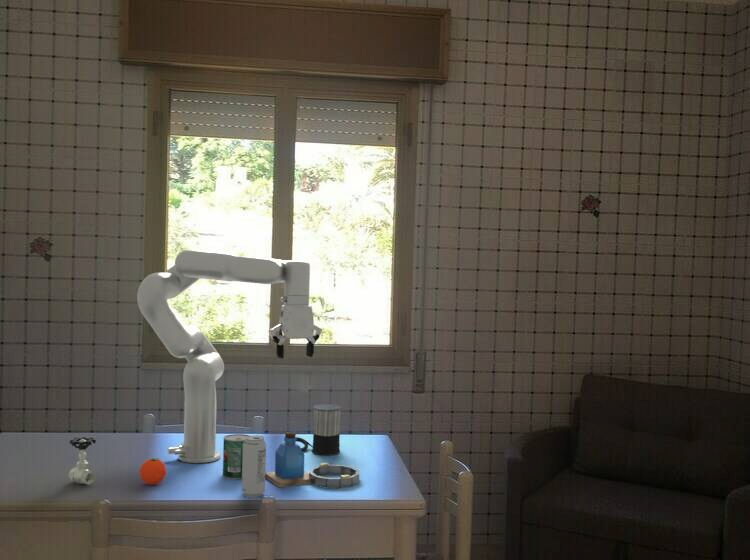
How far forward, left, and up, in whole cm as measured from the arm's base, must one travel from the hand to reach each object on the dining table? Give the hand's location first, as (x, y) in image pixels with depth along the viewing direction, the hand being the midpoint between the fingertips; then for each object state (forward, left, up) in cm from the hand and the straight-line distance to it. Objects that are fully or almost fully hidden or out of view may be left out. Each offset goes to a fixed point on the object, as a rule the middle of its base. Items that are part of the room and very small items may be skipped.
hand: (295, 357), depth 228 cm
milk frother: (+12, +9, -33) cm, 36 cm away
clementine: (-43, -4, -32) cm, 54 cm away
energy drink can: (-22, -24, -32) cm, 46 cm away
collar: (+3, -22, -32) cm, 39 cm away
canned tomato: (-20, -6, -32) cm, 39 cm away
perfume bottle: (-8, -16, -31) cm, 36 cm away
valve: (-60, +4, -32) cm, 68 cm away
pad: (-8, -16, -32) cm, 37 cm away
